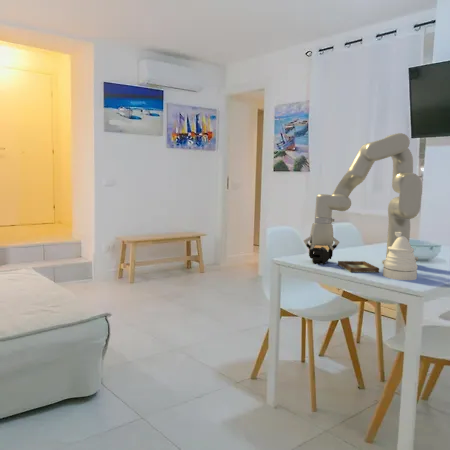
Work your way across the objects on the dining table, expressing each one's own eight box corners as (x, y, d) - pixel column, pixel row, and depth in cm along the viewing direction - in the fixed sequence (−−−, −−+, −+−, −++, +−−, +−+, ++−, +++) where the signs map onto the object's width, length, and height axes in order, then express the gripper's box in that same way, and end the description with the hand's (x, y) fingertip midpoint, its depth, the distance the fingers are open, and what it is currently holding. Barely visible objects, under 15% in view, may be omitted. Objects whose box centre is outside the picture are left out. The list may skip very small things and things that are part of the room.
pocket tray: (364, 265, 203) (364, 261, 203) (378, 272, 188) (379, 268, 188) (337, 264, 202) (338, 261, 202) (350, 272, 187) (350, 268, 187)
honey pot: (376, 275, 183) (379, 231, 181) (394, 272, 190) (397, 230, 188) (404, 281, 172) (407, 235, 170) (423, 278, 180) (426, 234, 178)
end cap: (329, 264, 202) (330, 250, 201) (313, 264, 203) (314, 249, 202) (327, 260, 212) (327, 246, 211) (311, 260, 212) (312, 246, 212)
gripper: (338, 220, 210) (335, 257, 212) (302, 219, 208) (300, 256, 210) (344, 222, 202) (341, 260, 204) (306, 221, 201) (304, 259, 202)
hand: (320, 258), depth 207 cm, fingers closed on end cap, 8 cm apart
